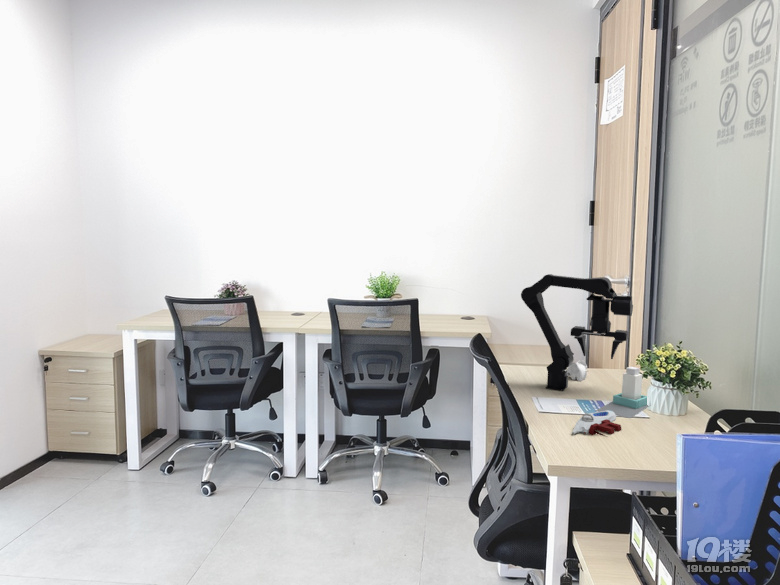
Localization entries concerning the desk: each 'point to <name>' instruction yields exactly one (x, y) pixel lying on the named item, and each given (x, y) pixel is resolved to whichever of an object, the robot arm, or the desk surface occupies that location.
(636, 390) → the grey square bottle
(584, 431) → the spaceship
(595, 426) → the bracket
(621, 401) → the holder
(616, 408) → the mat
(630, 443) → the desk surface
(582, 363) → the elephant figurine
